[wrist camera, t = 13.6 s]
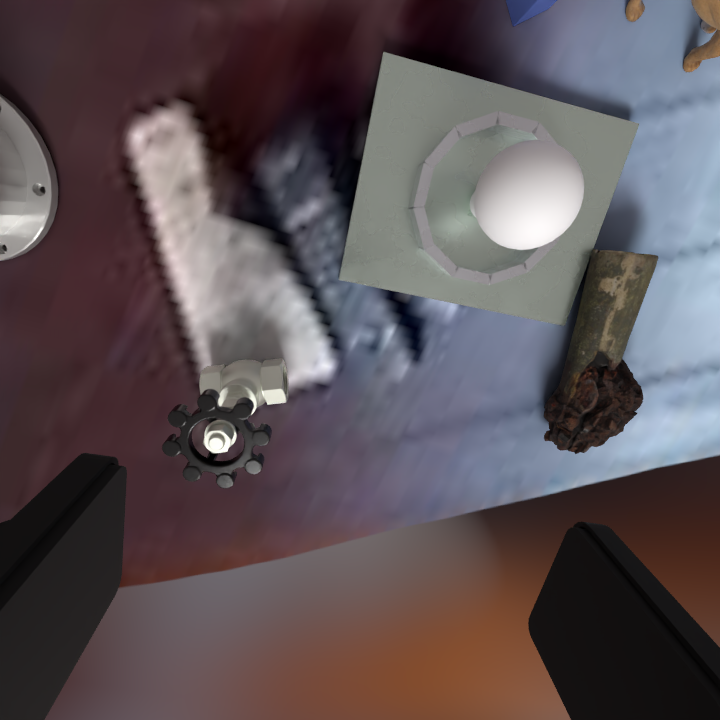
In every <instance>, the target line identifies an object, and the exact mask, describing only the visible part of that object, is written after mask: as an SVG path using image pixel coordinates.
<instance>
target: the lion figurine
mask: <svg viewBox="0 0 720 720" xmlns="http://www.w3.org/2000/svg"><path fill="white" fill-rule="evenodd" d="M692 5H693V7H694V9H695V10H696V12H697V14H698V15H699V16H700V18H701V19H702V20H703V21H702V23H701V29H702V30H703V31H704V32H706V33H713V32H714V31H715V30H716V29H717V31H716V32H715V34H714V35H713V36H712V38H711V40H710V41H709V42H707V43H705V44H704V45H702V46H699V47H695V48H693V49H692V50H691V51H690V53H689V54H688V55H687V56H686V57H685V59H684V64H683V69H684V71H685V72H692V71H694V70H695V69H697V68H698V67H699V65H700V63H701V62H702V60H705V59H710V58H715V57H718V56H720V0H692ZM644 10H645V6H644V4H643V2H642V1H641V0H629V2H628V4H627V7H626V17H627V19H628V21H631V22H634V21H636V20H637V19H638V18H639V17H640V16H641V15H642V13H643V12H644Z"/></svg>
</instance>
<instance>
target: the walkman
mask: <svg viewBox="0 0 720 720" xmlns="http://www.w3.org/2000/svg"><path fill="white" fill-rule="evenodd" d="M556 1H557V0H506V3H507V6H508V10H509V14H510V18H511V21H512V25H513V27H514V26H516V25H517V24H519V23H521V22H523V21H525V20H527V19H529V18H531V17H533V16H535V15H537V14H539V13H541V12H543V11H545V10H547V9H549V8H550V7H551V6H552V5H553V4H554V3H555V2H556Z"/></svg>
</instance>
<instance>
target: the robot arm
mask: <svg viewBox="0 0 720 720" xmlns="http://www.w3.org/2000/svg"><path fill="white" fill-rule="evenodd" d="M44 188H45V191H46V192H44ZM57 205H58V184H57V177H56V171H55V168H54V165H53V162H52V159H51V155H50V153H49V151H48V149H47V147H46V145H45V143H44V141H43V139H42V137H41V136H40V134H39V133H38V131H37V130H36V129H35V127H34V126H33V125H32V123H31V122H30V120H29V119H28V118H27V117H26V116H25V115H24V114H23V113H22V112H21V111H20V110H19V109H18V108H17V107H16V106H15V105H14V104H13V103H12V102H10V101H9V100H8V99H6V98H5V97H4V96H2V95H1V94H0V261H2V260H8V259H12V258H15V257H17V256H20V255H22V254H25V253H26V252H28V251H29V250H31V249H32V248H33V247H35V246H36V245H37V244H38V243H39V242H40V241H41V240H42V239H43V238H44V236H45V235H46V234H47V232H48V230H49V228H50V227H51V225H52V223H53V221H54V217H55V213H56V209H57ZM126 478H127V470H126V467H124V466H118V460H117V458H115V457H110V456H103V455H96V454H89V453H83V454H81V455H79V456H78V457H77V458H76V459H75V460H74V461H73V462H72V463H70V464H69V465H68V466H67V467H66V468H65V469H64V470H63V471H62V472H61V473H60V474H59V475H58V476H57V477H56V478H55V479H53V480H52V481H51V482H50V483H49V484H48V485H47V486H46V487H45V488H44V489H43V490H42V491H41V492H40V493H39V494H38V495H36V496H35V497H34V498H33V499H32V500H31V501H30V502H29V503H28V504H27V505H26V506H25V507H24V508H23V509H22V510H20V511H19V512H18V513H17V514H16V515H15V516H14V517H13V518H12V519H11V520H8V521H5V522H2V523H0V720H44V719H45V718H46V716H47V714H48V712H49V711H50V709H51V707H52V705H53V704H54V702H55V700H56V698H57V696H58V695H59V693H60V691H61V689H62V688H63V686H64V684H65V682H66V681H67V679H68V677H69V676H70V674H71V672H72V670H73V668H74V666H75V665H76V663H77V662H78V660H79V658H80V656H81V654H82V653H83V651H84V649H85V647H86V645H87V644H88V642H89V640H90V639H91V637H92V635H93V633H94V631H95V630H96V628H97V626H98V625H99V623H100V621H101V619H102V618H103V616H104V614H105V612H106V611H107V609H108V607H109V605H110V603H111V602H112V600H113V598H114V596H115V594H116V592H117V590H118V587H119V584H120V581H121V575H122V557H123V538H124V518H125V498H126ZM528 624H529V632H530V635H531V638H532V640H533V642H534V644H535V646H536V648H537V650H538V652H539V654H540V656H541V659H542V661H543V663H544V665H545V667H546V669H547V671H548V673H549V675H550V677H551V679H552V681H553V683H554V685H555V687H556V689H557V692H558V693H559V695H560V698H561V700H562V702H563V704H564V706H565V708H566V710H567V712H568V714H569V716H570V718H571V720H720V647H718V645H717V644H716V643H715V642H714V641H713V640H712V639H711V638H710V637H709V635H708V634H707V633H706V632H705V631H704V630H703V629H702V628H701V627H700V626H699V624H698V623H697V622H696V621H695V620H694V619H693V618H692V617H691V616H690V615H689V614H688V612H687V611H686V610H685V609H684V608H683V607H682V606H681V605H680V604H679V603H678V602H677V600H676V599H675V598H674V597H673V596H672V595H671V594H670V593H669V592H668V591H667V590H666V588H665V587H664V586H663V585H662V584H661V583H660V582H659V581H658V580H657V578H656V577H655V576H654V575H653V574H652V573H651V572H650V571H649V570H648V569H647V568H646V566H644V564H643V563H642V562H641V561H640V560H639V559H638V558H637V557H636V556H635V555H634V554H633V552H632V551H631V550H630V549H629V548H628V547H627V546H626V545H625V544H624V542H623V541H622V540H621V539H620V538H619V537H618V536H617V535H616V534H615V533H614V531H613V530H612V529H610V528H609V527H608V526H606V525H602V524H594V523H587V522H578V523H576V524H575V525H574V526H573V528H570V529H568V531H567V532H566V534H565V537H564V539H563V541H562V543H561V546H560V548H559V551H558V553H557V555H556V557H555V560H554V562H553V564H552V566H551V569H550V571H549V573H548V576H547V578H546V580H545V582H544V585H543V587H542V589H541V592H540V594H539V596H538V598H537V601H536V603H535V605H534V608H533V610H532V612H531V615H530V617H529V623H528Z"/></svg>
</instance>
